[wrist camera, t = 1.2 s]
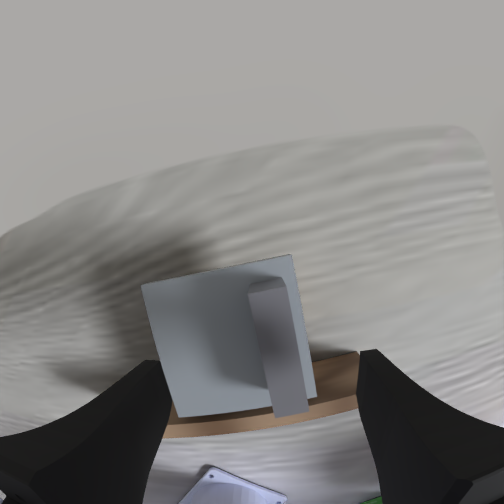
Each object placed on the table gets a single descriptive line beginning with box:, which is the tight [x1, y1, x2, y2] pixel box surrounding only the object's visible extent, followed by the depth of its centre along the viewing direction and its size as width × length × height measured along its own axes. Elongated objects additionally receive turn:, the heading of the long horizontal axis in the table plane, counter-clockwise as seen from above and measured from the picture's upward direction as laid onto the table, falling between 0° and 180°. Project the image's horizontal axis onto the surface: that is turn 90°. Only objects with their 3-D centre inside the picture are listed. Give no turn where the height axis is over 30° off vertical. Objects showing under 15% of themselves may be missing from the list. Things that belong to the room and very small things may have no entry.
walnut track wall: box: [162, 351, 360, 438], centre depth 19 cm, size 20×1×6 cm, turn 102°
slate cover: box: [141, 254, 317, 418], centre depth 15 cm, size 8×8×4 cm
